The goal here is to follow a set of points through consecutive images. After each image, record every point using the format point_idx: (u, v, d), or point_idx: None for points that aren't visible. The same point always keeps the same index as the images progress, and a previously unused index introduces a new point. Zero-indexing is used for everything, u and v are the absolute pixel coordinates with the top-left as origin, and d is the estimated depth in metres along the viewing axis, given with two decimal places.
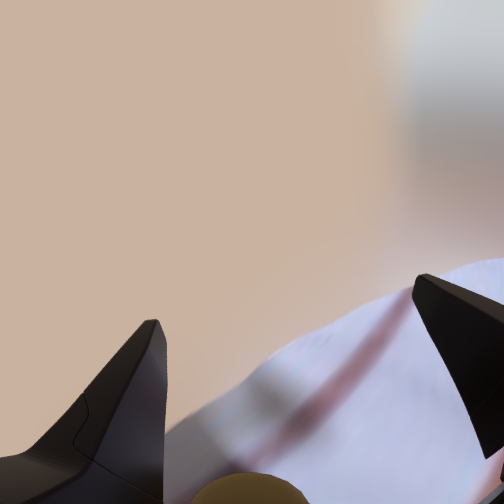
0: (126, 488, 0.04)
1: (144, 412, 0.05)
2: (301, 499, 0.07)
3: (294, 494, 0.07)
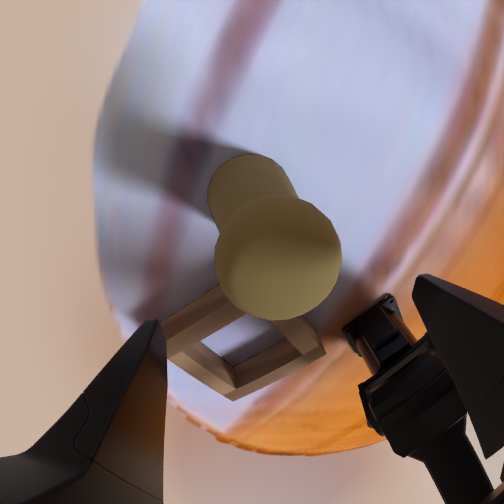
0: (126, 488, 0.04)
1: (144, 412, 0.05)
2: (326, 228, 0.10)
3: (319, 228, 0.09)
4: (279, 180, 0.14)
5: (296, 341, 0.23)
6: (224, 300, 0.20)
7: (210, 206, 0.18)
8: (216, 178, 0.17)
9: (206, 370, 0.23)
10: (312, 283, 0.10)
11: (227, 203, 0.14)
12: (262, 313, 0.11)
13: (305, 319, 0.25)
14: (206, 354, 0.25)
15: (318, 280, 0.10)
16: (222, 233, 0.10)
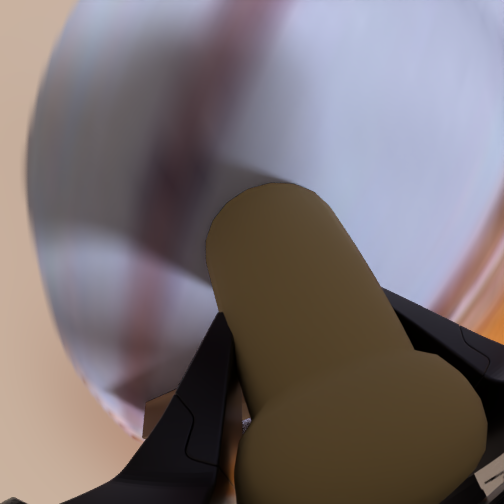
0: (231, 491, 0.04)
1: (235, 407, 0.06)
2: (485, 438, 0.02)
3: (481, 455, 0.02)
4: (351, 257, 0.07)
5: None
6: None
7: (211, 279, 0.10)
8: (220, 230, 0.10)
9: None
10: None
11: (248, 318, 0.06)
12: None
13: None
14: None
15: None
16: (257, 481, 0.03)
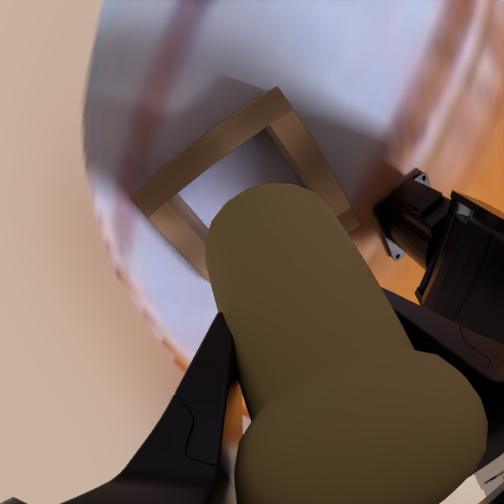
0: (231, 491, 0.04)
1: (235, 407, 0.06)
2: (485, 438, 0.02)
3: (481, 455, 0.02)
4: (351, 257, 0.07)
5: (322, 191, 0.17)
6: (228, 117, 0.15)
7: (210, 279, 0.10)
8: (219, 230, 0.10)
9: (200, 239, 0.18)
10: None
11: (248, 318, 0.06)
12: None
13: None
14: (201, 227, 0.19)
15: None
16: (257, 482, 0.03)
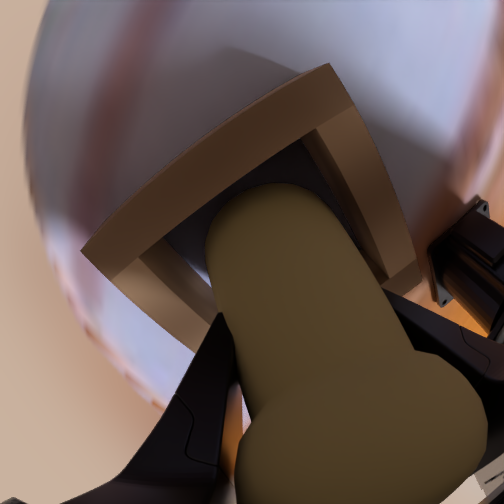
0: (232, 491, 0.04)
1: (235, 407, 0.06)
2: (485, 438, 0.02)
3: (481, 455, 0.02)
4: (351, 257, 0.07)
5: (384, 239, 0.11)
6: (242, 112, 0.08)
7: (210, 279, 0.10)
8: (219, 230, 0.10)
9: (194, 313, 0.11)
10: None
11: (248, 318, 0.06)
12: None
13: None
14: (196, 286, 0.13)
15: None
16: (257, 482, 0.03)
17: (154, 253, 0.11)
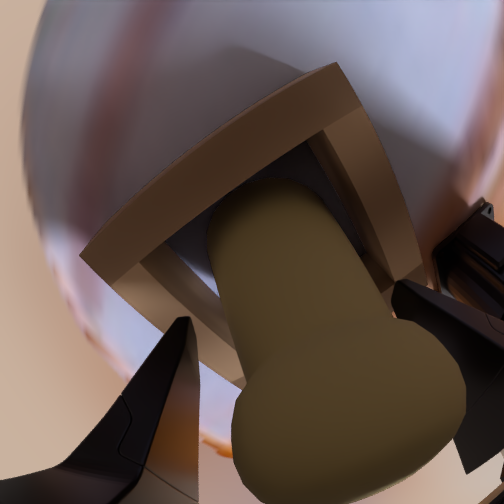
0: (171, 492, 0.04)
1: (184, 411, 0.06)
2: (463, 399, 0.03)
3: (459, 413, 0.03)
4: (338, 241, 0.08)
5: (391, 243, 0.10)
6: (246, 112, 0.08)
7: (211, 265, 0.11)
8: (220, 220, 0.11)
9: (196, 319, 0.11)
10: (410, 475, 0.03)
11: (245, 293, 0.07)
12: None
13: None
14: (198, 290, 0.12)
15: None
16: (251, 428, 0.04)
17: (155, 257, 0.10)
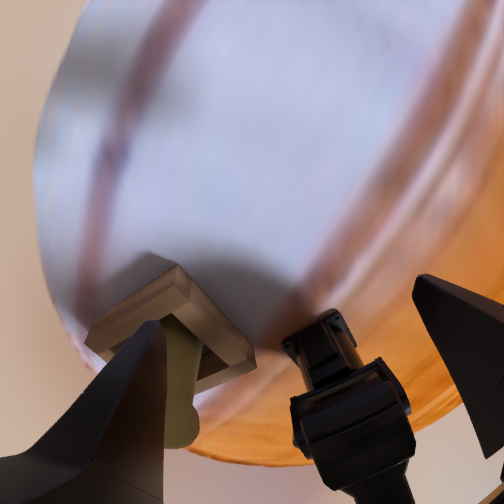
0: (126, 488, 0.04)
1: (144, 412, 0.05)
2: (179, 424, 0.14)
3: (174, 426, 0.14)
4: (175, 357, 0.19)
5: (219, 351, 0.22)
6: (140, 303, 0.19)
7: None
8: None
9: None
10: (175, 443, 0.15)
11: None
12: None
13: (237, 329, 0.24)
14: None
15: (179, 443, 0.15)
16: None
17: (116, 343, 0.22)
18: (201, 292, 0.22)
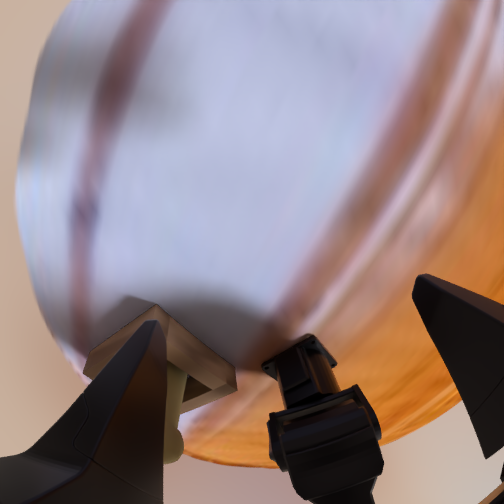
0: (126, 488, 0.04)
1: (144, 412, 0.05)
2: (164, 446, 0.16)
3: None
4: None
5: (201, 378, 0.23)
6: None
7: None
8: None
9: None
10: (163, 460, 0.16)
11: None
12: None
13: (217, 356, 0.26)
14: None
15: (165, 460, 0.16)
16: None
17: None
18: (180, 327, 0.23)
